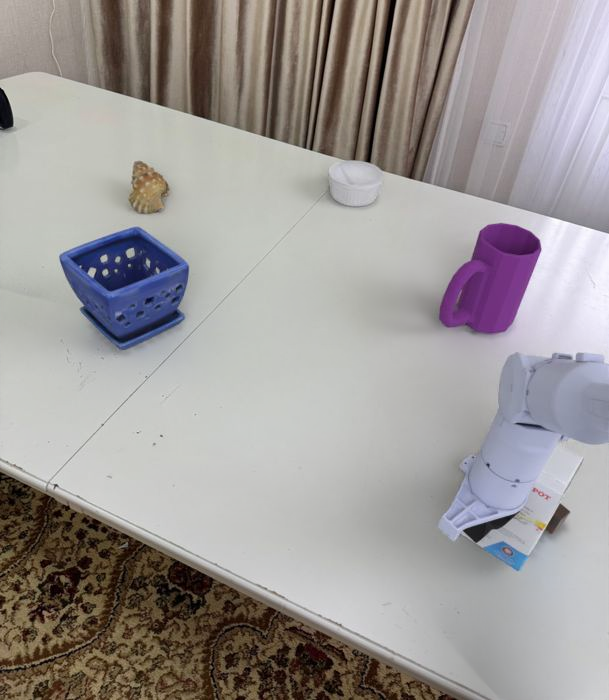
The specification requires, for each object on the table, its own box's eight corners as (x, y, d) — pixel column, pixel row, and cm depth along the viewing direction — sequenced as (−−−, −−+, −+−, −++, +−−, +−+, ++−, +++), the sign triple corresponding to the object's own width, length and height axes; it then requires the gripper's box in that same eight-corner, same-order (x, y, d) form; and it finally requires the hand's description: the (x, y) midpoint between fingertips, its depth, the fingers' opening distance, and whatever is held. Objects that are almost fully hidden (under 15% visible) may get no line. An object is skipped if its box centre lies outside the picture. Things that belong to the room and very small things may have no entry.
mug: (523, 324, 100) (555, 245, 90) (455, 357, 93) (481, 276, 83) (482, 293, 106) (508, 216, 96) (414, 322, 99) (434, 242, 89)
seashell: (121, 216, 121) (111, 163, 119) (159, 211, 126) (150, 160, 124) (142, 214, 114) (132, 158, 112) (181, 209, 119) (172, 155, 117)
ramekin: (314, 194, 127) (316, 170, 123) (349, 177, 133) (352, 154, 130) (357, 216, 122) (360, 192, 118) (390, 197, 128) (395, 174, 125)
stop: (561, 525, 73) (570, 511, 71) (551, 534, 72) (560, 520, 70) (482, 458, 80) (489, 443, 78) (472, 465, 79) (478, 450, 77)
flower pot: (145, 285, 101) (137, 221, 93) (195, 326, 94) (191, 261, 86) (70, 319, 94) (54, 252, 85) (119, 366, 87) (106, 299, 79)
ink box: (543, 532, 72) (588, 458, 66) (518, 574, 66) (565, 496, 60) (477, 490, 76) (514, 417, 70) (448, 526, 70) (485, 448, 64)
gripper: (522, 398, 64) (485, 475, 73) (428, 466, 57) (400, 542, 66) (581, 442, 60) (534, 517, 69) (489, 521, 53) (450, 594, 62)
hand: (472, 533), depth 67 cm, fingers closed, pressing on ink box
